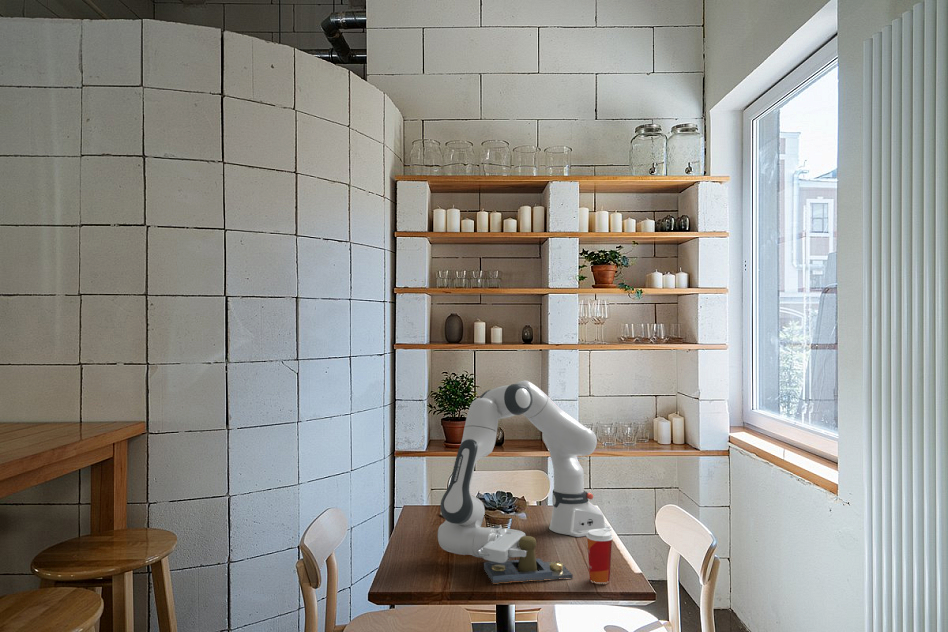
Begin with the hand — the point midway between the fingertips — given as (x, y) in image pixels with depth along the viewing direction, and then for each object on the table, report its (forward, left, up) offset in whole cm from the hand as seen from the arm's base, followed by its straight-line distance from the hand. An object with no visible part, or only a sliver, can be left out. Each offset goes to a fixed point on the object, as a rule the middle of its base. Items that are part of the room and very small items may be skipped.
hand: (530, 549), depth 185 cm
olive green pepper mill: (+1, -1, -8) cm, 8 cm away
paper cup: (-18, +8, -8) cm, 22 cm away
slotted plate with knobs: (+1, -1, -7) cm, 8 cm away
